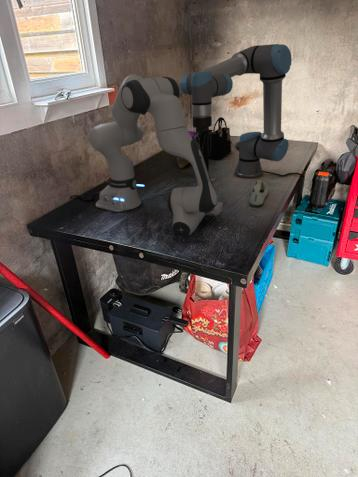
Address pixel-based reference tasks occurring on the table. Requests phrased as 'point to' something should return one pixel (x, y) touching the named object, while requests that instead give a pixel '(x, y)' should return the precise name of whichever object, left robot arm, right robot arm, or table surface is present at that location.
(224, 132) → the handbag
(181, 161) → the boot
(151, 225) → the table surface
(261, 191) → the ballet flat
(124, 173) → the left robot arm
